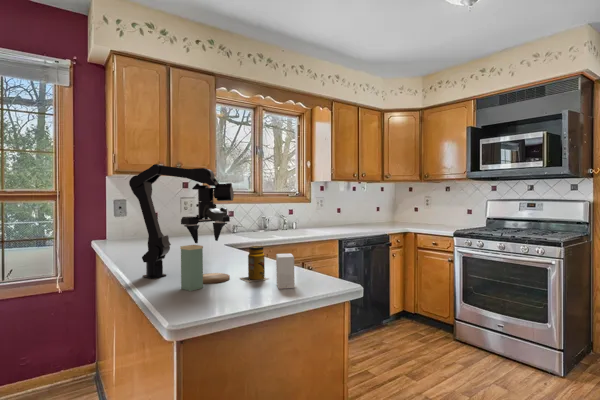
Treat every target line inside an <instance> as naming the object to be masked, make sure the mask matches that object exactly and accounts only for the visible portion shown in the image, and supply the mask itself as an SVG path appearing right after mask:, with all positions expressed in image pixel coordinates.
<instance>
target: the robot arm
mask: <svg viewBox="0 0 600 400" xmlns="http://www.w3.org/2000/svg"><path fill="white" fill-rule="evenodd" d="M161 176H168V177H175V178H181V179H188V180H191V181H194V182H197V183H196V184H195V185H194V186H193V187H191V188H192V190H195V191H197V201H198V202H197V203H196V204H195V206H196V207H197V208H198V209H197V210H198V214H196V215H195V216H194V215H193V216H190V215H189V216H182V217H181V219H180V225H183V226H184V227H186V228H187V230H188V232H189V233H190V236H191V237H192V239H193V241H194V243H195V244H198V243H199V234H198V233H199V230H198V229H199V227H200V224H199V223H209V222H212V228H213V235H214V237H213V238H214V240H215V241H216V242H218V240H219V237H220V235H221V232H222V230H223V228H224V226H225V225H228V223H229V222H231V221H230V219H231V218H230V216H229V214H228V208H226V207H220V208H217V204H216V203H214V199H216V201H217V202H229V201H230V202H232V201H234V198H235V197H234V196H235V191H234V187H233V184H232V183H231V182H227V183H219V181H218V180H217V179H216V178H215V173H214V171H213V170H211V169H209V168H205V167H200V168H199V167H198V168H182V167H176V166H169V165H162V164H157V163H154V164H153V165H151V166H150V167H149V168H146V169H145V170H143V171H141V172H140V173H138V174H136V175H133V176H132V177H131V178H130V179H129V180H128V185H129V188H130V190H131V192H132V194H133V195H134V196H135V197H136V199H137V200H138V203H139V206H140V209H141V213H142V216H143V220H144V223H145V227H146V231H147V236H148V238H147V252H145V253H144V254H143V255H142V256H141V259H142V261H143V263H145V266H146V268H145V271H146V272H145V273H146V274H142V278H147V279H156V278H162V277H166V276H167V274H166V273H164V271H163V270H164V268H163V265H164V264H163V263H164V262H163V260H164V259H165V258H166V255H168V254H169V252H170V249H171V245H172V244H171V243H170V239H169V235H168V234H166V235H164V234H163V232H162V230H161V226H160V224H159V220H158V216H157V213H156V209H155V206H154V201H153V200H152V199H153V198H152V195H153V184H154V183H155V182H157V180H158V179H159V178H160V177H161ZM200 183H201V184H200ZM209 186H211V187H209Z"/></svg>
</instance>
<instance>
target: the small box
mask: <svg viewBox="0 0 600 400" xmlns="http://www.w3.org/2000/svg"><path fill="white" fill-rule="evenodd" d="M275 259H276V262H275V263H276V264H275V265H276V267H275V268H276V285H277V289H279V290H282V289H295V286H296V285H295V256H294V255H293V254H292V253H276V254H275Z"/></svg>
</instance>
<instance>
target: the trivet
mask: <svg viewBox="0 0 600 400" xmlns="http://www.w3.org/2000/svg"><path fill="white" fill-rule="evenodd" d="M230 279H231V277H230V275H229V274H228V273H223V272H209V273H203V285H205V284H206V285H207V284H209V285H212V284H213V285H214V284H221V283H224V282H228V281H229V280H230Z"/></svg>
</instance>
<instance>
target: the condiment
mask: <svg viewBox="0 0 600 400" xmlns="http://www.w3.org/2000/svg"><path fill="white" fill-rule="evenodd" d="M247 264H248V265H247V266H248V267H247V270H248V271H247V272H248V273H247V274H248V276H246V277H244V276H243V277H240V280H243V282H244V281H245V282H246V283H251V282H259V281H265V280H269V278H267V277H265V276H266V275H265V274H266V273H265V267H266V266H265V253H264V246H263V245H262V246H261V245H252V246H249V248H248V255H247Z"/></svg>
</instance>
